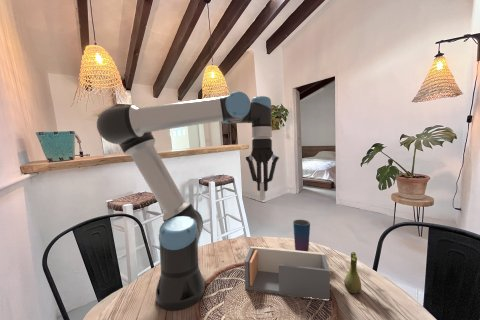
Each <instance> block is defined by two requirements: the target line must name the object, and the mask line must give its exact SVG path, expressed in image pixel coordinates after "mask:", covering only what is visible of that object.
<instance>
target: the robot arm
mask: <svg viewBox="0 0 480 320" xmlns="http://www.w3.org/2000/svg"><path fill="white" fill-rule="evenodd" d="M216 122H221V123H222V124H229V125H231V124H251V138H253V139H252V140H251V145H252V148H251V152H250V154H249V155H248V156H246V157H245V160H246V161H247V163H248V168H249V171H250V176H251V179H252V181H253V182H256V185H257V186H256V187H257V188H256V189H257V191H258V192H259V200H260V201H265V200H266V192H267V191H268V190H269V186H268V184H269V183H270V182H272V181H273V179H274V174H275V171H276V170H275V169H276V166H277V162H278V161H279V159H280V156H277V155H276V154H274V151H273V140H272V136H273V133H272V132H273V130H272V100H271V98H270V97H268V96H265V95H263V96H262V95H260V96H254V97H252V98H251V100H250V97H249V96H248V94H246V93H244V92H243V91H239V90H237V91H234V92H231V93H230V94H229V95H225V96H218V97H210V98H202V99H195V100H188V101H181V102H174V103H165V104H160V105H159V104H158V105H152V106H144V107H143V106H142V107H137V106H136V105H133V104H131V105H126V106H117V107H110V108H107V109H105V110H104V111H102V112H101V113H100V114H99V116H98V118H97V120H96V129H97V132H98V134H99V135H100V137H102V138H103V140H105V141H106V142H107V143H108V142H109V143H111V144H114V145H118V146H119V147H120V149H121V150H122V152H123V154H124V155H125V156H129V157H131V158H132V160H133V162H134V163H135V166H136V167H137V169H138V171H139V172H140V174H141V175H142V176H141V177H143V180H144V181H145V182H146V184H147V186H148V188H149V189H150V191H151V192H152V194H153V196H154V198H155V199H156V200H155V201H157V203H158V205H159V206H160V208H161V210H162V211H163V216H162V221H163V222H162V223H161V226H160V227H159V232H158V241H159V243H158V244H159V261H160V276H159V279H158V283H157V286H156V289H155V302H156V304H157V305H158V306H159V307H160V308H162V309H164V310H167V311H180V310H184V309H186V308H189V307H191V306H193V305H195V304H196V303H197V302H199V301H200V300H201V299H200V298H202V297H203V296H204V293H205V281H204V278H203V274H202V272H201V269H200V267H199V241H200V237H201V233H202V232H203V227H204V221H203V217H202V215H201V213H200V211H198V210H197V209H195V208H194V206H193V204H192V203H191V202H190V201H187V200H185V199H184V196H183V195H182V193H181V191H180V190H179V188H178V186H177V185H176V183H175V181H174V179H173V177H172V175H171V174H170V172H169V170H168V168H167V167H166V165H165V163H164V162H163V160H162V157H161V156H160V155H159V153H158V151H157V149H156V147H155V144H156V139H155V138H154V136H153V133H152V132H158V131H165V130H166V131H167V130H172V129H178V128H179V129H180V128H184V127H185V128H186V127H191V126H198V125H205V124H210V123H211V124H212V123H216ZM270 160H272V162H271V166H270V171H269V169H268V168H269V167H268V166H269V161H270ZM254 161H255V163H256V169H255V166H254ZM262 168H263V173H262ZM262 174H263V181H262ZM199 299H200V300H199ZM198 300H199V301H198Z"/></svg>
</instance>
